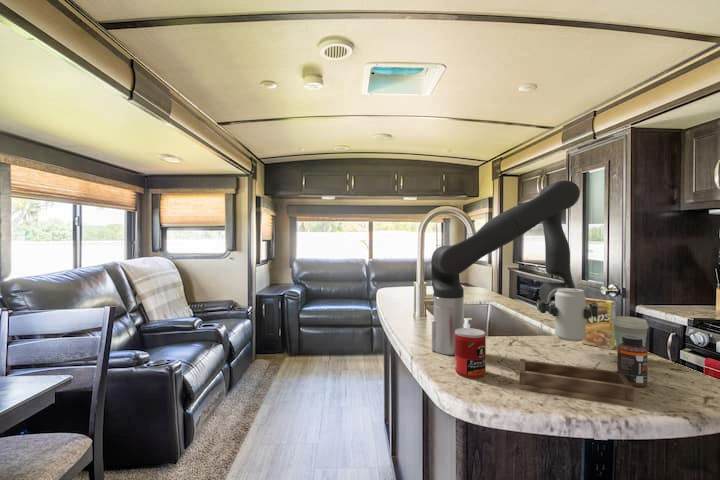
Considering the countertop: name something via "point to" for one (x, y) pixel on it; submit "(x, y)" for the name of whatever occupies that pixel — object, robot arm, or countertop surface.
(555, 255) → the robot arm
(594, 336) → the candy box
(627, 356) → the supplement bottle
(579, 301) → the beverage can
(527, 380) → the wooden tray
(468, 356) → the canned food
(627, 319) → the coffee cup
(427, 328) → the countertop surface
